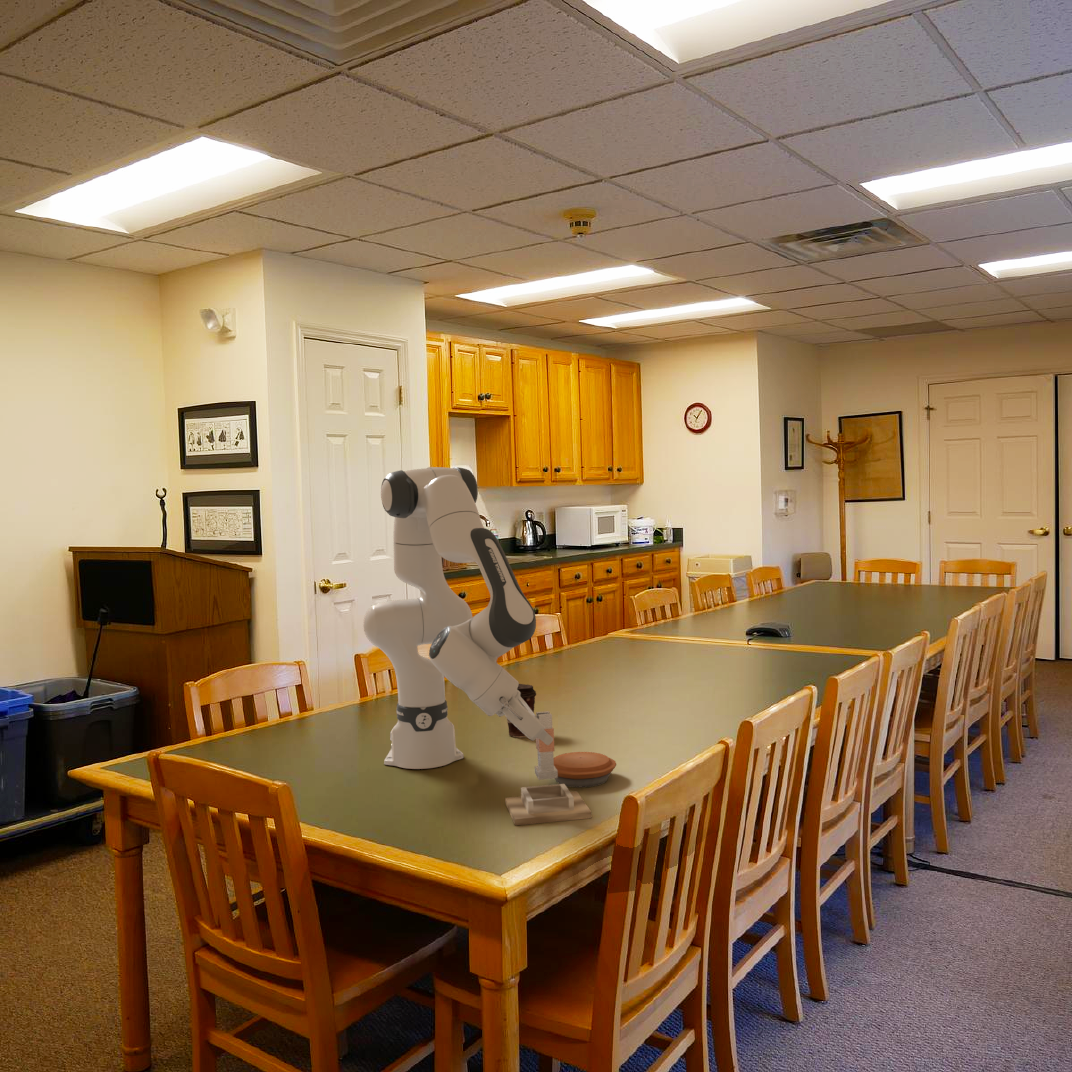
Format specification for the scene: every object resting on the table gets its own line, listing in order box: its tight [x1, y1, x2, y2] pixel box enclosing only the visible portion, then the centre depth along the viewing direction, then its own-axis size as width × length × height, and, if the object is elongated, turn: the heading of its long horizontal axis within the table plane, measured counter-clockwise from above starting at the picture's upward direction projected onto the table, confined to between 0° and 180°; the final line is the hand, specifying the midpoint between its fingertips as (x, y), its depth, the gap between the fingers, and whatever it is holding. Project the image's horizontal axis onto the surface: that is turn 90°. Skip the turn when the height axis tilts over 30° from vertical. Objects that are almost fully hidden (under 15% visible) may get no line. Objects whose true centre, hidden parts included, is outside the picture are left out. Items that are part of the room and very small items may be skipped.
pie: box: [553, 751, 617, 788], centre depth 209 cm, size 15×16×5 cm
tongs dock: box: [504, 783, 592, 826], centre depth 189 cm, size 13×15×4 cm
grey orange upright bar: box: [534, 710, 558, 781], centre depth 188 cm, size 4×4×12 cm
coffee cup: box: [506, 683, 537, 739], centre depth 248 cm, size 9×8×13 cm
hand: (548, 738), depth 188 cm, fingers closed on grey orange upright bar, 4 cm apart
